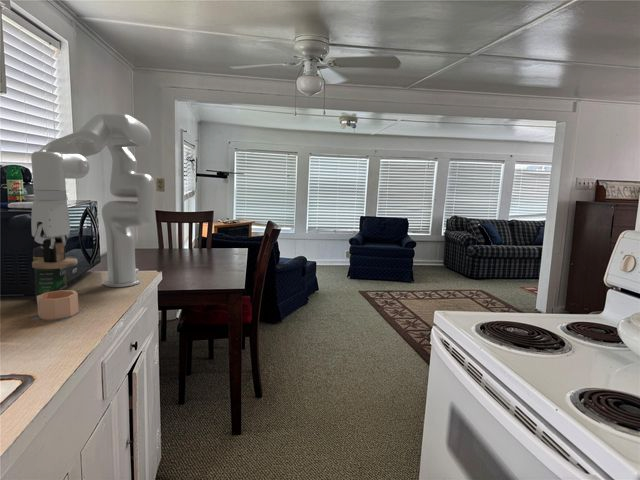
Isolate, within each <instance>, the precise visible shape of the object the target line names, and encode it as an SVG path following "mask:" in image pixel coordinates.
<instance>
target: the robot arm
mask: <svg viewBox="0 0 640 480" xmlns="http://www.w3.org/2000/svg"><path fill="white" fill-rule="evenodd" d="M151 142H152V134H151V131H150V129H149V128H148V127H147V125H146V124H144V123H142V122H141V121H139V119H137V118H135V117H134V116H132V115H129V114H125V113H105V112H104V113H102V112H101V113H97V114H95V115H94V116H93V117H91V118H90V119H89V120H88V121H87V122H86V123H85V124H84V125H83V126H82V127H80V128H79V130H78V131H76V132H73V133H70V134H68V135H65V136H61V137H59V138H56V139H54V140H51V141H49V142H48V143H46V144H45V145H44V146H42V147H41V148H40V149H39V150H38V151H33V152H32V153H31V157H30V158H31V159H30V160H31V175H32V185H33V187H32V188H33V198H34V200H33V202H32V206H31V215H30V216H31V219H30V220H31V223H30V224H31V226H30V227H31V236H32V237H33V238H34V242H36V243H37V244H39V245H40V246H41V248H42V249H43V256H44V262H50V263H55V262H56V248H54V243H63V246H64V260H65V257H66V256H65V254H66V247H65V246H66V245H67V242H66V241H67V240H68V238H69V237H70V236H71V233H70V231H71V221H70V220H71V219H70V212H69V209H68V200H67V187H66V179H67V180H68V179H73V180H77V179H82V178H84V177H85V176H87V175H88V174H89V172H90V162H89V160H88V159H87V157H90V156H91V157H92V156H95V155H97V154H99V153H100V152H102V150H104V148H105V147H106V148H107V150H108V151H109V154H110V156H111V159H112V160H111V161H112V164H111V172H110V173H111V174H110V182H109V191H110V194H111V196H113V197H116V198H120V199H137V200H136V201H133V200H132V201H130V200H111V201H110V200H109V201H108V202H105V204H104V205H103V206H102V208H101V217H102V220H103V224H104V225H103V226H104V230H105V231H104V232H105V242H106V261H107V263H106V264H107V279H106V280H104V281H103V285H104V286H105V287H110V288H123V287H124V288H126V287H131V286H136V285H138V284H140V283H141V278H140V277H137V275H136V274H138V273H139V272H140V270H139V268H136V247H135V236H134V234H133V232H132V231H131V229H130V227H131V228H135V227H136V228H139V227H140V228H145V227H148V226H150V225H151V223H152V222H153V219H154V211H155V202H156V201H155V199H156V183H155V179H154V178H153V177H152V175H150V174H148V173H138V171H137V170H138V169H137V168H138V161H137V159H136V157H135V155H134V154H133V153H132V152H131V151H130V149H129V148H131V149H132V148H133V149H144V148H148V147H149V145H150V144H151Z"/></svg>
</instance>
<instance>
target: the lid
mask: <svg viewBox="0 0 640 480" xmlns="http://www.w3.org/2000/svg"><path fill="white" fill-rule="evenodd" d="M54 248H56V262H55V263H50V262H44V259H40V260H36V261H34V260H33V261H31V266H32V267H31V268H33V269H35V268H36V269H58V268H66V269H67V268H70V267H74V266H77V265H78V258H75V257H67V256H65V260H64V246H63V243H54Z"/></svg>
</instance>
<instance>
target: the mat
mask: <svg viewBox="0 0 640 480" xmlns="http://www.w3.org/2000/svg"><path fill="white" fill-rule="evenodd" d="M84 311H86V309H79V312H78V313H77V314H76V315H74V316H72V317H69V318H65V319H59V320H42V319H40V318H39V315H37V316H35V317H33V318H31V319H29V321H43V322H44V321H49V322H66V321H68V320H69V319H71V318H73V317H75V316H77V315H79V314H81V313H83V312H84Z"/></svg>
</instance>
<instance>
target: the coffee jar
mask: <svg viewBox="0 0 640 480" xmlns="http://www.w3.org/2000/svg"><path fill="white" fill-rule="evenodd" d="M65 257H67V256H66V253H65ZM40 259H44V256H43V249H42V248H41V245H40V246H36V247H35V248H33V249H32V260H33V261H36V260H40ZM66 269H67V267H66V268H58V269H36V268H34V279H35V280H34V282H35V284H34V285H35V290H34V291H35V293H34V294H35V301H36V302H37V296H38V295H41V294H43V293H46V292H52V291H59V290H69V289H68V282H67V271H66Z"/></svg>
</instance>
